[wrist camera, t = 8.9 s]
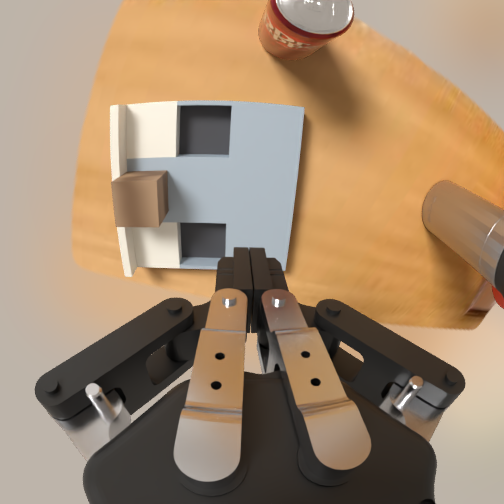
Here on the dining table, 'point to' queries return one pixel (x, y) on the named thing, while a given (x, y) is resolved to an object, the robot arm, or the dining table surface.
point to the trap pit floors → (204, 142)
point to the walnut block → (140, 198)
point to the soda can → (303, 26)
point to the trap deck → (219, 179)
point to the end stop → (119, 169)
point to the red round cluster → (498, 297)
